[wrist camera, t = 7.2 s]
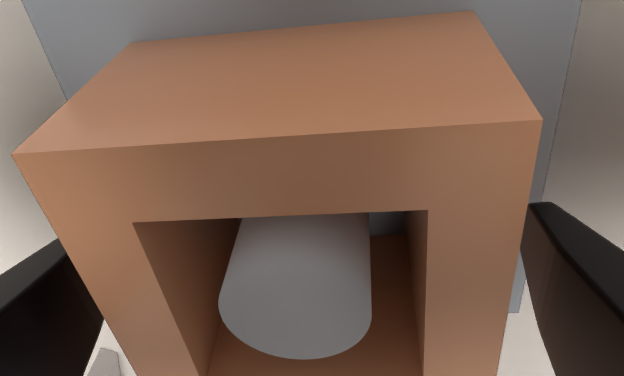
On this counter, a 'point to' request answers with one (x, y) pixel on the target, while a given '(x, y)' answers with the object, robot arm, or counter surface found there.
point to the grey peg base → (323, 227)
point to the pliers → (105, 364)
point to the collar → (296, 185)
